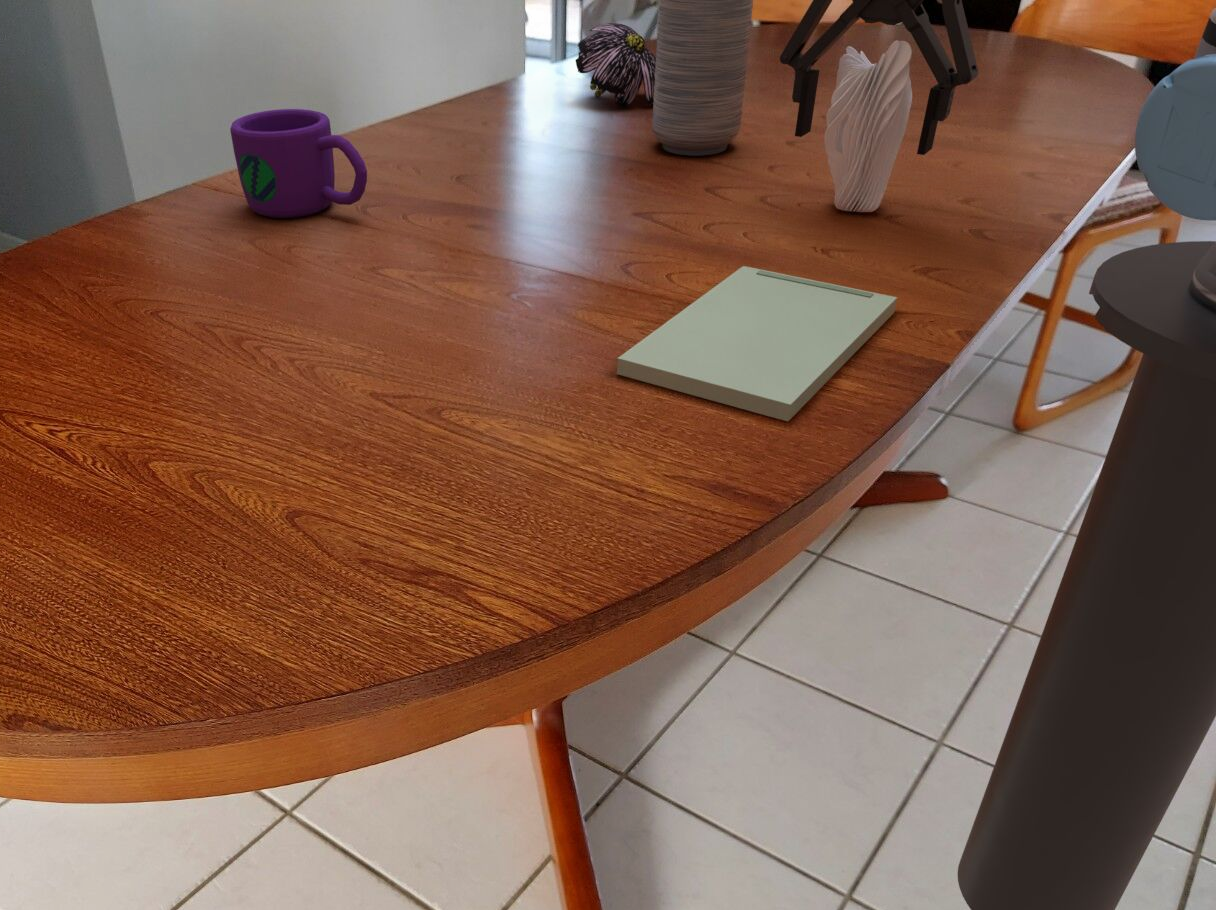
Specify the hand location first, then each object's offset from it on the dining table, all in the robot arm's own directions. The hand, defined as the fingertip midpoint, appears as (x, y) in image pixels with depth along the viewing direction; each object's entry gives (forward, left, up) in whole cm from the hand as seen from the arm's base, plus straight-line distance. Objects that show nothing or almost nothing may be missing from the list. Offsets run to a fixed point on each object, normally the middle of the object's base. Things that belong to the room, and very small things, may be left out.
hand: (861, 142), depth 114 cm
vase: (+27, -14, -7) cm, 31 cm away
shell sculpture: (0, 0, -7) cm, 7 cm away
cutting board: (-6, +38, -7) cm, 39 cm away
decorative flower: (+49, -32, -7) cm, 59 cm away
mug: (+54, +32, -7) cm, 63 cm away
